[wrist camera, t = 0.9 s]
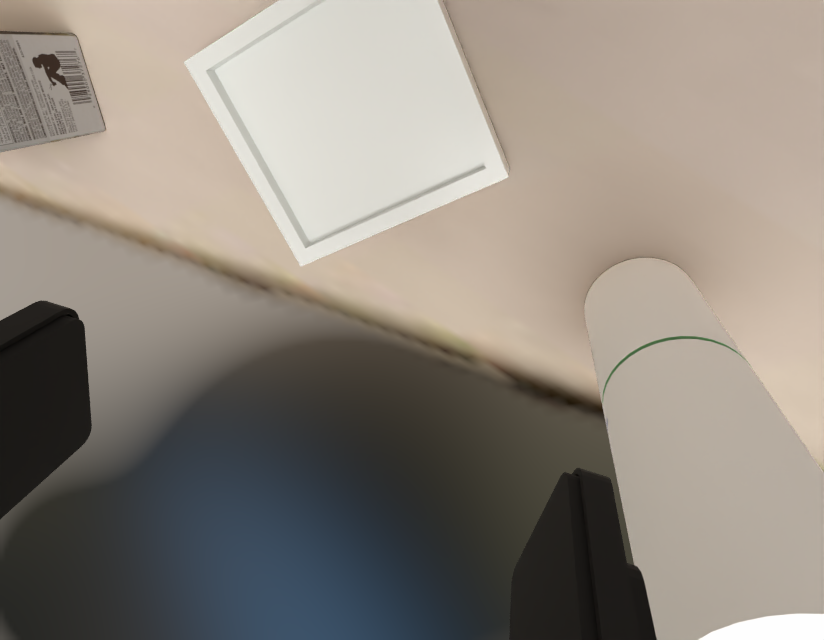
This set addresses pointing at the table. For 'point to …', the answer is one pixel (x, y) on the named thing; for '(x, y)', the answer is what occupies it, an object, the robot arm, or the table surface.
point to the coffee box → (44, 90)
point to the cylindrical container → (704, 465)
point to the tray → (350, 116)
